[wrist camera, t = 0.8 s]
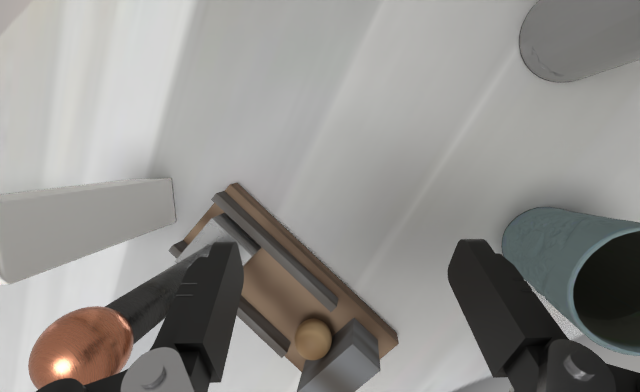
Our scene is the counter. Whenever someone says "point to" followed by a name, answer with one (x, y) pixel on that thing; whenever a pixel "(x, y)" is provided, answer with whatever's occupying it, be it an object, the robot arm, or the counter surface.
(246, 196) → the base
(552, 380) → the robot arm
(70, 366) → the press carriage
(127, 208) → the milk
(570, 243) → the teal cup
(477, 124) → the counter surface
